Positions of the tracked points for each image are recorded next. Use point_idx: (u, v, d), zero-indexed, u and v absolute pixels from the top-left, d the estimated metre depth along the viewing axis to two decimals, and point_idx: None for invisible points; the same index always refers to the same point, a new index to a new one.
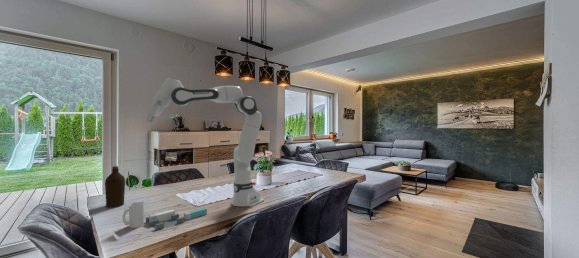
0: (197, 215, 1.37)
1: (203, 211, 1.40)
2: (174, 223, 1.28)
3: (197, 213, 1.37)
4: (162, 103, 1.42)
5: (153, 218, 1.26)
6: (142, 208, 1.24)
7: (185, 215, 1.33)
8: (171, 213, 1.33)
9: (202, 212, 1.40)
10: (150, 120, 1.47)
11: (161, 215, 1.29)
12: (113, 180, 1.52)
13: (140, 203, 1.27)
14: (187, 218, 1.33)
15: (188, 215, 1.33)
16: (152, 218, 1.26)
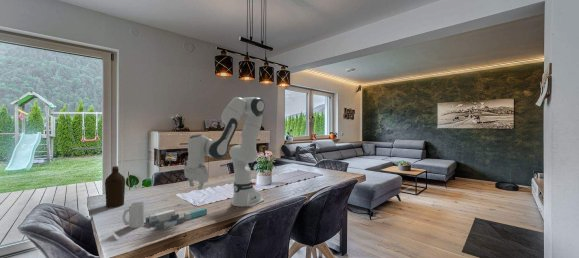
0: (197, 215, 1.37)
1: (203, 211, 1.40)
2: (174, 223, 1.28)
3: (197, 213, 1.37)
4: (202, 164, 1.36)
5: (153, 218, 1.26)
6: (142, 208, 1.24)
7: (185, 215, 1.33)
8: (171, 213, 1.33)
9: (202, 212, 1.40)
10: (192, 184, 1.40)
11: (161, 215, 1.29)
12: (113, 180, 1.52)
13: (140, 203, 1.27)
14: (187, 218, 1.33)
15: (188, 215, 1.33)
16: (152, 218, 1.26)
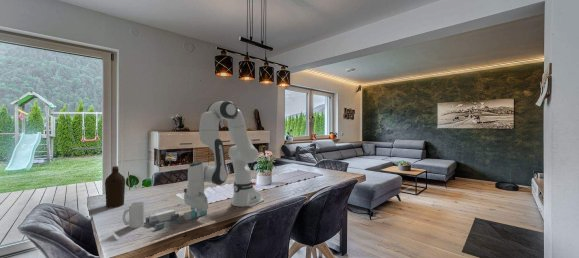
0: None
1: (203, 211, 1.40)
2: (174, 223, 1.28)
3: None
4: (202, 192, 1.36)
5: (153, 218, 1.26)
6: (142, 208, 1.24)
7: (185, 215, 1.33)
8: (171, 213, 1.33)
9: (202, 212, 1.40)
10: None
11: (161, 215, 1.29)
12: (113, 180, 1.52)
13: (140, 203, 1.27)
14: (187, 218, 1.33)
15: (188, 215, 1.33)
16: (152, 218, 1.26)
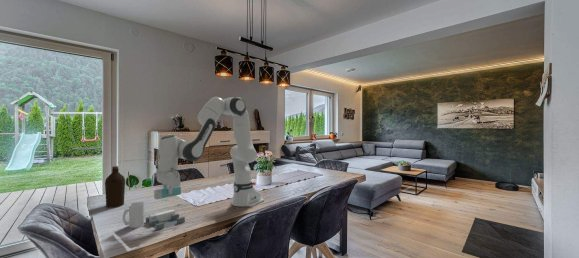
0: None
1: (176, 189, 1.29)
2: (174, 223, 1.28)
3: None
4: (175, 168, 1.25)
5: (153, 218, 1.26)
6: (142, 208, 1.24)
7: (155, 192, 1.22)
8: (171, 213, 1.33)
9: (176, 190, 1.28)
10: None
11: (161, 215, 1.29)
12: (113, 180, 1.52)
13: (140, 203, 1.27)
14: (157, 195, 1.21)
15: (158, 192, 1.22)
16: (152, 218, 1.26)
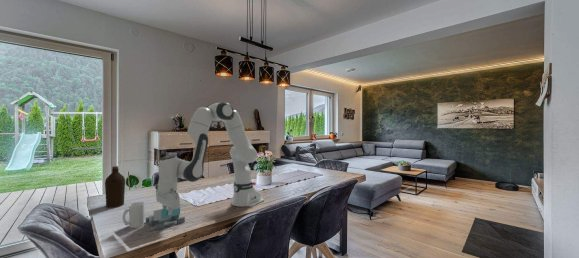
0: None
1: (176, 209, 1.29)
2: (174, 223, 1.28)
3: None
4: (174, 189, 1.25)
5: (153, 218, 1.26)
6: (142, 208, 1.24)
7: (155, 213, 1.22)
8: None
9: (175, 210, 1.29)
10: None
11: None
12: (113, 180, 1.52)
13: (140, 203, 1.27)
14: (157, 217, 1.22)
15: (158, 213, 1.22)
16: (152, 218, 1.26)
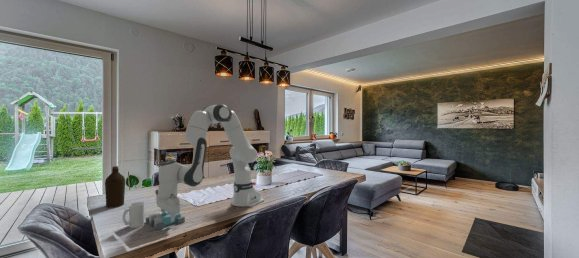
0: (169, 221, 1.26)
1: (176, 216, 1.29)
2: (174, 223, 1.28)
3: (169, 218, 1.26)
4: (174, 194, 1.25)
5: (153, 218, 1.27)
6: (142, 208, 1.24)
7: (155, 221, 1.22)
8: None
9: (176, 217, 1.29)
10: (164, 214, 1.30)
11: (161, 215, 1.30)
12: (113, 180, 1.52)
13: (140, 203, 1.27)
14: None
15: (158, 221, 1.22)
16: (152, 218, 1.26)
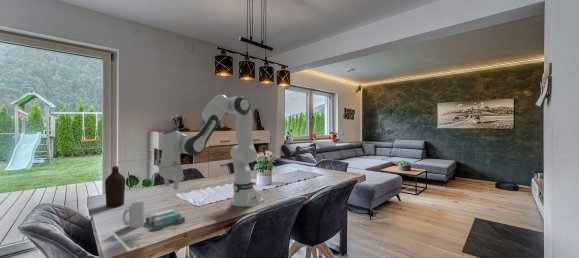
0: (169, 221, 1.26)
1: (176, 216, 1.29)
2: (174, 223, 1.28)
3: (169, 218, 1.26)
4: (177, 162, 1.27)
5: (153, 218, 1.26)
6: (142, 208, 1.24)
7: (155, 221, 1.22)
8: (171, 213, 1.33)
9: (176, 217, 1.29)
10: (167, 184, 1.31)
11: (161, 215, 1.30)
12: (113, 180, 1.52)
13: (140, 203, 1.27)
14: None
15: (158, 221, 1.22)
16: (152, 218, 1.26)
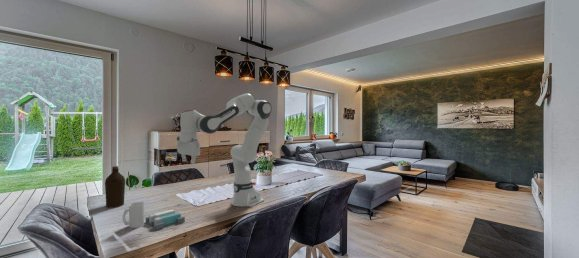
0: (169, 221, 1.26)
1: (176, 216, 1.29)
2: (174, 223, 1.28)
3: (169, 218, 1.26)
4: (195, 139, 1.38)
5: (153, 218, 1.26)
6: (142, 208, 1.24)
7: (155, 221, 1.22)
8: (171, 213, 1.33)
9: (176, 217, 1.29)
10: (184, 159, 1.42)
11: (161, 215, 1.30)
12: (113, 180, 1.52)
13: (140, 203, 1.27)
14: None
15: (158, 221, 1.22)
16: (152, 218, 1.26)
